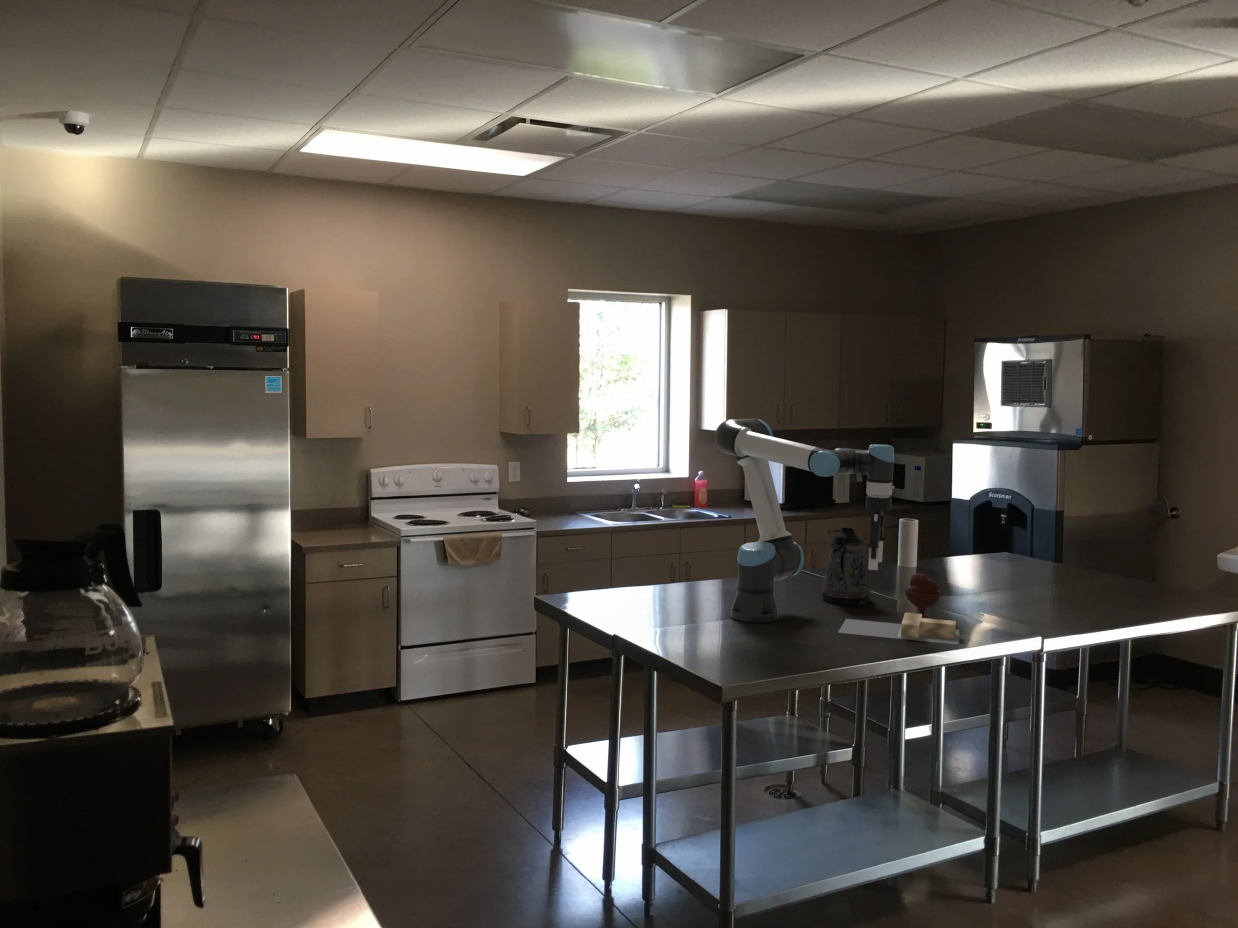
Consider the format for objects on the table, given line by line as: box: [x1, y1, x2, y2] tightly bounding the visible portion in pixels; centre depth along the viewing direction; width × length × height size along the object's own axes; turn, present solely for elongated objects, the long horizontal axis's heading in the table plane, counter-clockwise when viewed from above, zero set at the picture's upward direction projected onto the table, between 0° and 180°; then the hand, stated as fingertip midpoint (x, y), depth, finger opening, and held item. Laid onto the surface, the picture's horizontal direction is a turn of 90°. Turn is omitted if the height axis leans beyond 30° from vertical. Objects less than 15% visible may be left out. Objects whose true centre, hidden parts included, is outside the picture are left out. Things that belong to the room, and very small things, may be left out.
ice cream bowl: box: [904, 573, 941, 619], centre depth 316 cm, size 11×11×15 cm
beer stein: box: [820, 527, 871, 606], centre depth 343 cm, size 16×19×25 cm
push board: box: [837, 618, 960, 645], centre depth 301 cm, size 34×19×1 cm, turn 70°
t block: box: [900, 612, 957, 639], centre depth 298 cm, size 15×16×4 cm
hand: (875, 565), depth 302 cm, fingers open, 13 cm apart
